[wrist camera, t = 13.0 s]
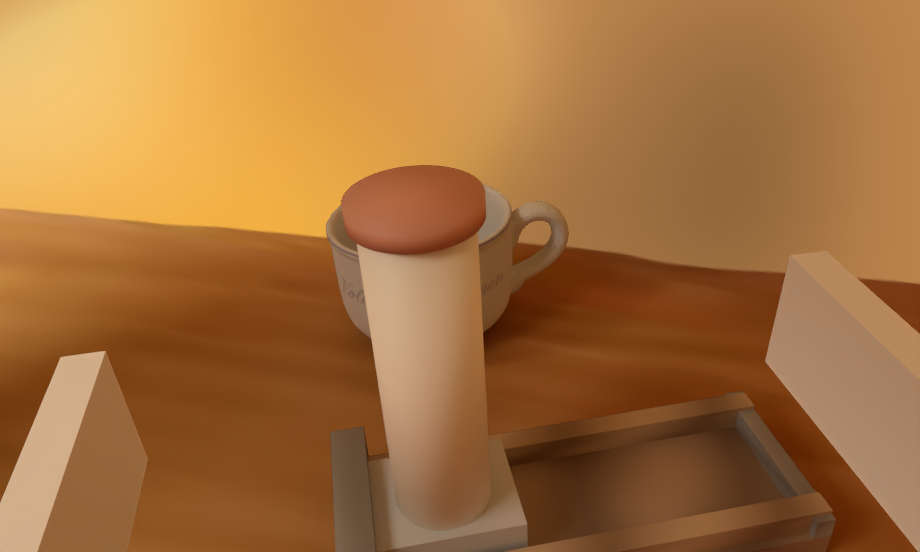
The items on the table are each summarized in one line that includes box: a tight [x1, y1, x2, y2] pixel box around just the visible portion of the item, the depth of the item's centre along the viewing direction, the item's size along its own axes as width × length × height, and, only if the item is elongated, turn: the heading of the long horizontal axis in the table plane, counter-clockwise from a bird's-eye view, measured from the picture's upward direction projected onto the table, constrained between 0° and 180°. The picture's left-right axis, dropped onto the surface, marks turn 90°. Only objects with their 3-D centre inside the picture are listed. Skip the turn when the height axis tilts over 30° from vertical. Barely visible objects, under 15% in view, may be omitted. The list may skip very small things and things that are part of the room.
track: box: [330, 391, 836, 552], centre depth 33 cm, size 20×8×4 cm, turn 100°
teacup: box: [326, 184, 569, 338], centre depth 45 cm, size 14×11×8 cm
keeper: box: [341, 165, 528, 552], centre depth 28 cm, size 6×5×16 cm
